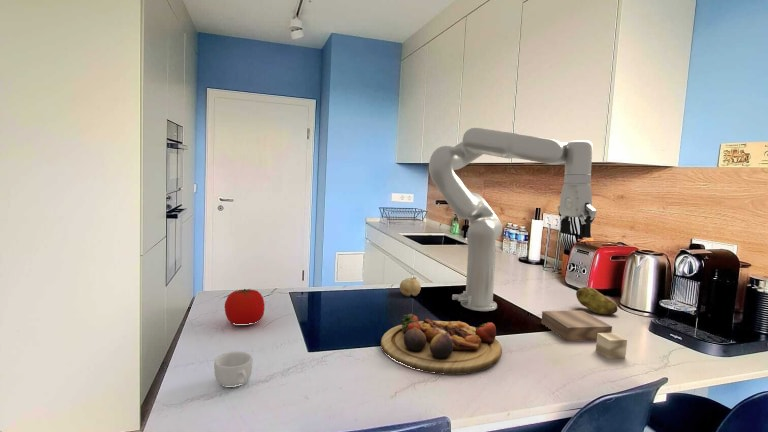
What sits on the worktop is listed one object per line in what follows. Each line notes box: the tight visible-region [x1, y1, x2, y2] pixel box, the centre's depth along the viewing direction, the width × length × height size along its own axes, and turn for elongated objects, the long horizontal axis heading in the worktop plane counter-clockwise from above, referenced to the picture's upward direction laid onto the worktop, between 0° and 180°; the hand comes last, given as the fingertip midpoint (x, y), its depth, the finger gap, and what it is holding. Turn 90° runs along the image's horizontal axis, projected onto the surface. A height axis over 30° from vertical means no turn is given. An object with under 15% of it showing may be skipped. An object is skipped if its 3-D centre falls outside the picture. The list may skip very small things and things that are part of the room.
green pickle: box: [575, 286, 618, 315], centre depth 148 cm, size 8×13×8 cm, turn 33°
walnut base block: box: [541, 310, 613, 342], centre depth 128 cm, size 14×14×4 cm
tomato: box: [224, 288, 265, 324], centre depth 124 cm, size 11×12×10 cm
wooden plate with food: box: [380, 313, 503, 375], centre depth 113 cm, size 32×32×8 cm
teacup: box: [213, 351, 253, 386], centre depth 90 cm, size 10×8×5 cm
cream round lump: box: [399, 276, 422, 297], centre depth 160 cm, size 8×8×7 cm
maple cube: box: [595, 332, 628, 359], centre depth 112 cm, size 5×5×5 cm
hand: (574, 234), depth 133 cm, fingers open, 9 cm apart
